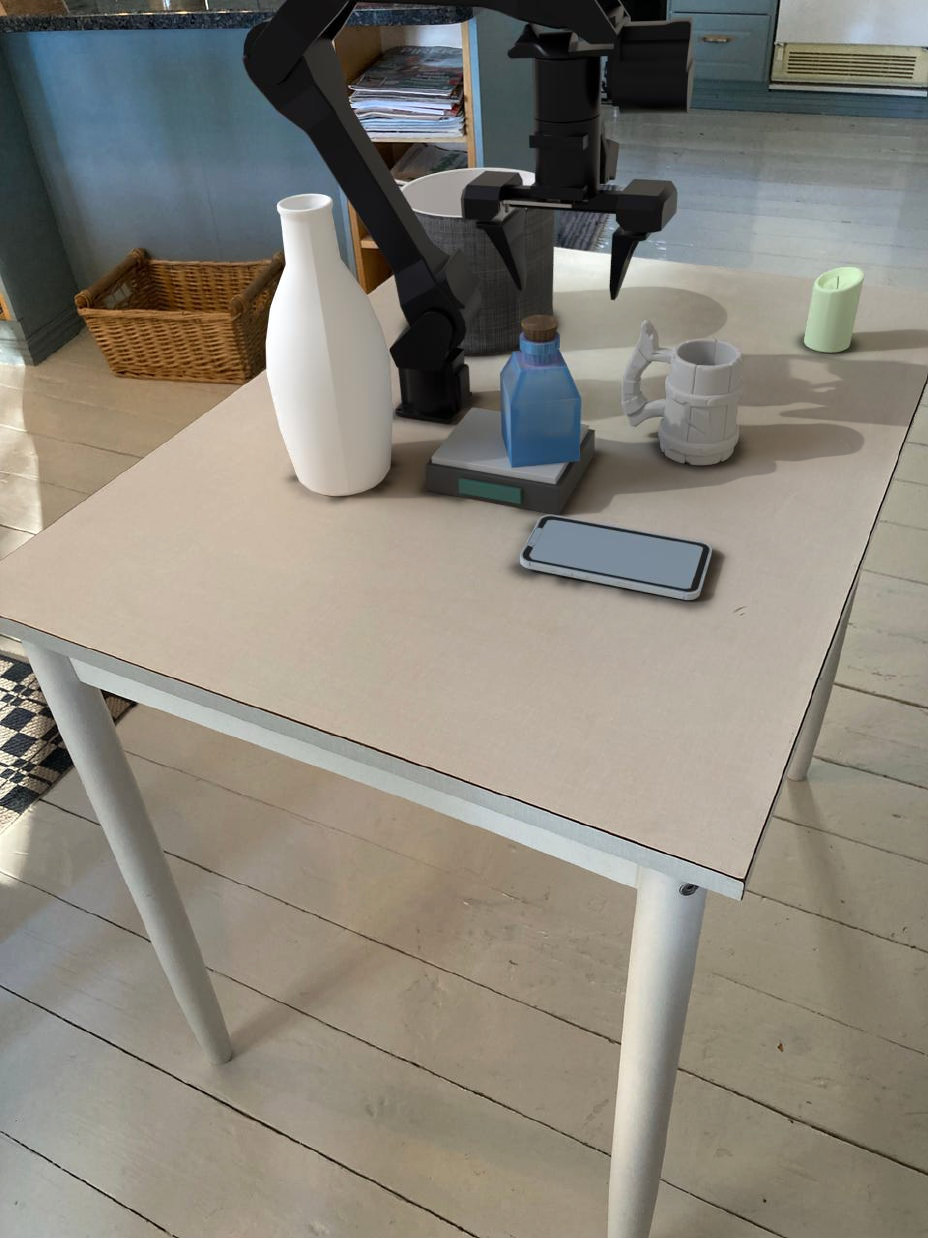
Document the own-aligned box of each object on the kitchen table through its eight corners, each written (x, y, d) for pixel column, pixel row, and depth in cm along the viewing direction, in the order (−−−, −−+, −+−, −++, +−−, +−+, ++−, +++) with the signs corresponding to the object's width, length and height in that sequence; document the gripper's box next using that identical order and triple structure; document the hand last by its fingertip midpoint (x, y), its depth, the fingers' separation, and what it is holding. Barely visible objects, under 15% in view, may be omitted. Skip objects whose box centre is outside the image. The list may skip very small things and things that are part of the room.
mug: (726, 474, 93) (742, 353, 85) (605, 451, 97) (611, 334, 90) (745, 435, 98) (762, 319, 91) (630, 415, 102) (637, 302, 95)
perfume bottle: (579, 460, 89) (583, 333, 82) (511, 467, 89) (509, 340, 81) (566, 427, 94) (568, 304, 87) (501, 433, 94) (498, 311, 86)
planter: (518, 366, 112) (516, 224, 102) (381, 343, 119) (367, 207, 109) (574, 306, 125) (577, 174, 114) (447, 288, 131) (440, 162, 121)
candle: (817, 355, 111) (830, 283, 106) (795, 337, 115) (807, 267, 109) (858, 349, 112) (873, 277, 106) (835, 331, 115) (849, 261, 110)
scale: (425, 493, 93) (422, 460, 91) (470, 435, 101) (469, 403, 99) (557, 517, 89) (558, 484, 87) (594, 454, 97) (595, 422, 95)
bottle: (421, 455, 98) (397, 186, 82) (366, 514, 91) (328, 230, 75) (324, 435, 102) (284, 176, 86) (264, 491, 95) (207, 217, 78)
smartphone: (698, 596, 78) (516, 560, 82) (697, 605, 79) (516, 569, 83) (714, 543, 83) (542, 512, 88) (712, 552, 84) (542, 521, 88)
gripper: (699, 94, 87) (685, 271, 97) (501, 89, 93) (507, 256, 103) (665, 127, 79) (654, 316, 89) (452, 120, 86) (464, 296, 96)
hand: (567, 293), depth 94 cm, fingers open, 9 cm apart
